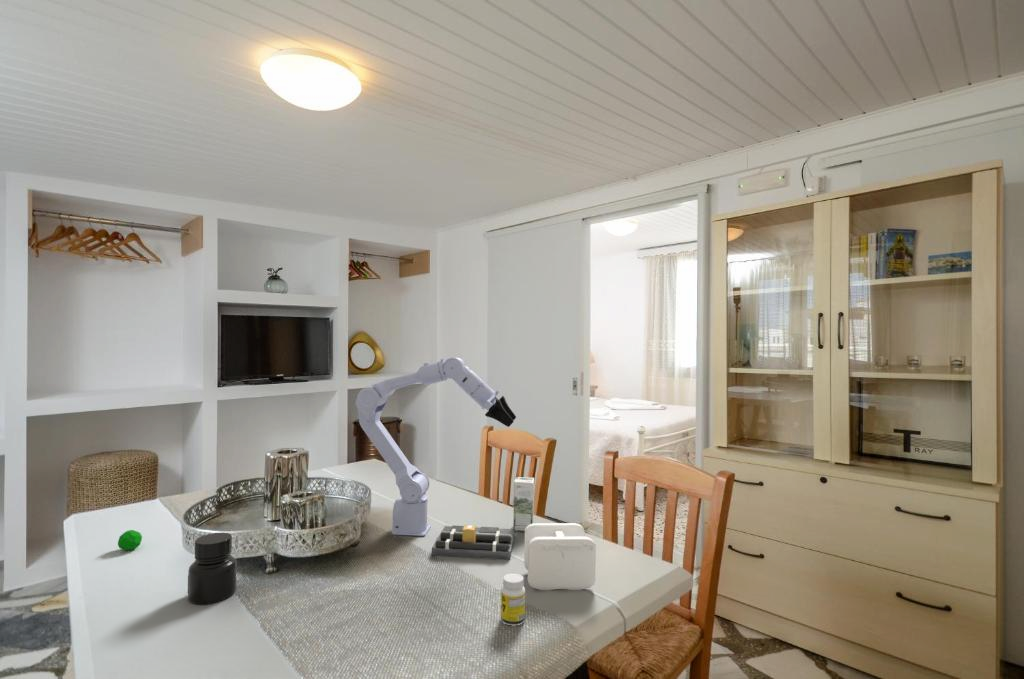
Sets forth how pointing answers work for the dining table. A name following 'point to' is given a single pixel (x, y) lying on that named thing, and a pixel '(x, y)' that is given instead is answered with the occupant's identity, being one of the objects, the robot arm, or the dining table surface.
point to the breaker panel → (475, 552)
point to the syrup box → (523, 503)
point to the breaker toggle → (469, 534)
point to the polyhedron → (129, 540)
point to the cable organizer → (559, 556)
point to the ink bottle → (212, 569)
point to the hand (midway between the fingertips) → (512, 422)
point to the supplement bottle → (513, 599)
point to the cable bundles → (471, 545)
